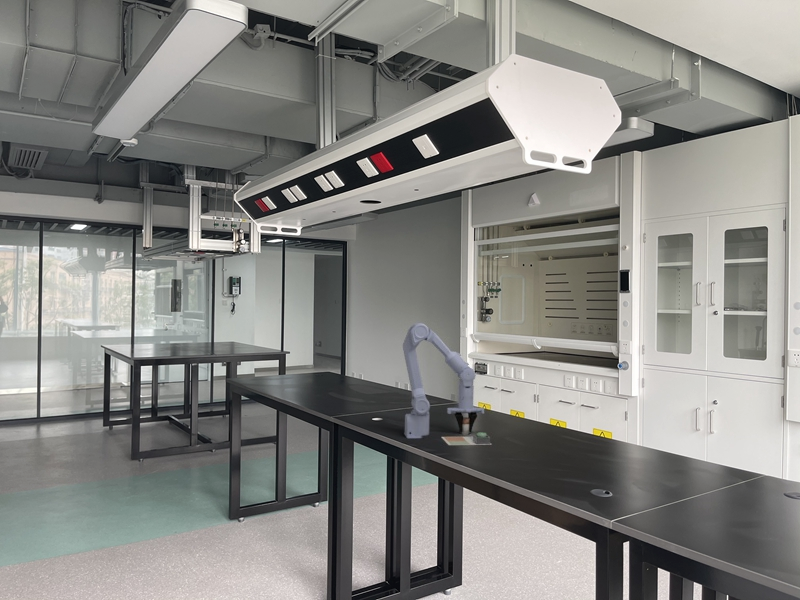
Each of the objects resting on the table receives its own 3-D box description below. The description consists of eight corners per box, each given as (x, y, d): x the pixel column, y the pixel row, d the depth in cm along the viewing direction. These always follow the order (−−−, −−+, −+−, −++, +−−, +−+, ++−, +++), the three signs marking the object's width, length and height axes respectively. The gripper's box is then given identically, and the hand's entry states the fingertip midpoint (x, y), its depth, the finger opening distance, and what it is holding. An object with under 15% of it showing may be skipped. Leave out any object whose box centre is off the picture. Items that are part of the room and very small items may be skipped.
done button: (478, 439, 208) (478, 434, 208) (475, 437, 212) (475, 432, 212) (487, 439, 209) (487, 434, 209) (484, 437, 212) (484, 432, 212)
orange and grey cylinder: (462, 436, 223) (462, 418, 223) (460, 435, 227) (460, 417, 227) (470, 436, 224) (470, 418, 224) (468, 435, 227) (468, 417, 227)
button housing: (476, 444, 207) (476, 437, 207) (473, 441, 212) (473, 434, 212) (490, 444, 208) (490, 437, 208) (486, 440, 213) (486, 434, 213)
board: (448, 447, 205) (448, 444, 205) (440, 439, 218) (440, 436, 218) (491, 447, 208) (491, 444, 208) (481, 439, 220) (481, 436, 220)
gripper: (450, 398, 220) (449, 434, 220) (486, 398, 223) (486, 433, 222) (446, 395, 227) (445, 430, 227) (481, 395, 229) (481, 430, 229)
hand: (465, 431), depth 225 cm, fingers closed on orange and grey cylinder, 3 cm apart
